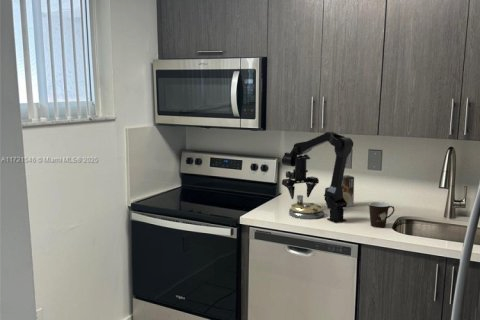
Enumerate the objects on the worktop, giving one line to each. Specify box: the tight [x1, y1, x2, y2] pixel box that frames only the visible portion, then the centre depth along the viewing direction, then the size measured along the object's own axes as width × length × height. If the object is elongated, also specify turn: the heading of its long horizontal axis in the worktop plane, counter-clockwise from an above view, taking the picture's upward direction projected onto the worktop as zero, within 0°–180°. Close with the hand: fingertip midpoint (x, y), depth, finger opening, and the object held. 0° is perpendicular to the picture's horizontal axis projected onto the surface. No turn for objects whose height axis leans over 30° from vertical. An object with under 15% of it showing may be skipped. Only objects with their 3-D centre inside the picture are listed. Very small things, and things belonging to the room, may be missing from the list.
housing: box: [288, 208, 325, 220], centre depth 217 cm, size 17×17×2 cm
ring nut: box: [290, 194, 323, 214], centre depth 217 cm, size 15×15×6 cm
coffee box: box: [341, 174, 355, 208], centre depth 234 cm, size 9×6×16 cm
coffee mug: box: [368, 201, 395, 229], centre depth 197 cm, size 12×9×10 cm
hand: (300, 198), depth 222 cm, fingers open, 9 cm apart
